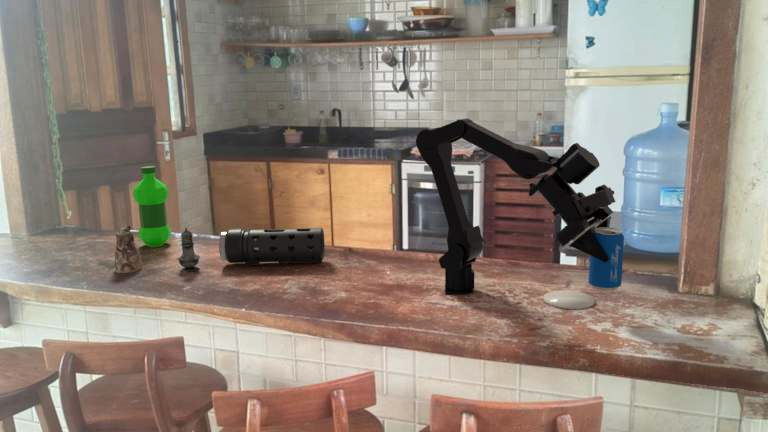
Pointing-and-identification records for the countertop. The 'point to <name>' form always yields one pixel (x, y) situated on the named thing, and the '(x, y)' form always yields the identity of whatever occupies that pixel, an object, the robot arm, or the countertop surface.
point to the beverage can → (610, 271)
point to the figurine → (126, 252)
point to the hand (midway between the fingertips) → (612, 256)
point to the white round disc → (569, 299)
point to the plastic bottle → (152, 208)
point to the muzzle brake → (272, 246)
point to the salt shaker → (188, 254)
